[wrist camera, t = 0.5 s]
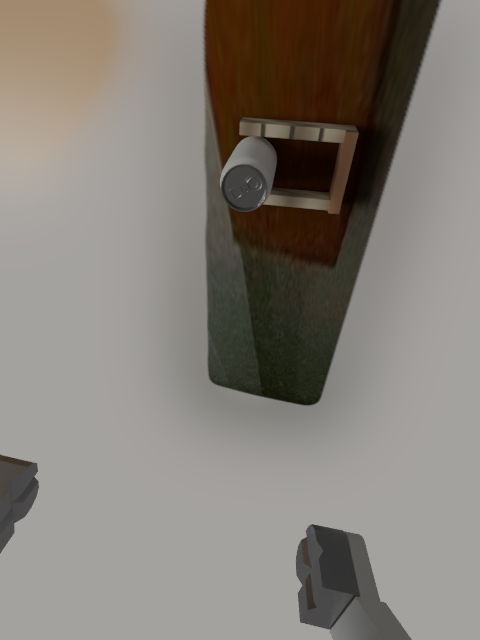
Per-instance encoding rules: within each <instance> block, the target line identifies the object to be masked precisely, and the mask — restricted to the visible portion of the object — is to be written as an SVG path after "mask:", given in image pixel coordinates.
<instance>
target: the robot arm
mask: <svg viewBox="0 0 480 640" xmlns="http://www.w3.org/2000/svg"><path fill="white" fill-rule="evenodd" d="M37 472H38V469H37V463H32V462H28V461H24V460H19V459H15V458H11V457H7V456H2V455H0V553H1V551H2V550H3V548H4V547H5V545H6V544H7V542H8V541H9V540H10V538H11V537H12V535H13V533H14V523H15V522H17V521H19V520H20V519H22V518H23V517H25V516H26V514H27V513H28V511H29V510H30V508H31V507H32V505H33V503H34V500H35V498H36V496H37V492H38V488H39V485H38V481H37V479H36V478H35V477H34V476H35V474H36V473H37ZM306 533H307V537H306V538H304V539H302V540H301V542H300V544H299V546H298V550H297V556H296V572H297V577H298V578H299V580H300V582H301V583H302V585H303V586H302V587H301V589H300V591H299V593H298V599H299V612H300V622H301V623H305V624H310V625H314V626H318V627H322V628H326V629H330V633H331V635H332V638H333V640H411V638H410V637H409V635H408V634H407V633H406V631H405V630H404V628H403V627H402V626H401V624H400V623H399V621H398V620H397V618H396V617H395V616H394V614H393V613H392V611H391V610H390V609H389V607H388V606H387V604H386V603H384V602H380V599H379V595H378V591H377V588H376V583H375V580H374V576H373V572H372V568H371V564H370V561H369V557H368V553H367V549H366V545H365V542H364V539H363V537H362V536H360V535H359V534H354V533H349V532H344V531H342V530H337V529H332V528H328V527H323V526H318V525H313V524H312V525H310V526H309V527H308V528H307V530H306Z"/></svg>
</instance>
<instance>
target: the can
mask: <svg viewBox="0 0 480 640" xmlns="http://www.w3.org/2000/svg"><path fill="white" fill-rule="evenodd" d="M276 165H277V155H276V151H275V149H274V147H273V146H272V145H271V143H270V142H269V141H268V140H266V139H265V138H263V137H259V136H250V137H247V138H245V139H243V140H242V141H241V142H240V143H239V144H238V145H237V146H236V148H235V150H234V151H233V153H232V155H231V156H230V158H229V160H228V162H227V163H226V165H225V167H224V169H223V171H222V174H221V178H220V187H221V192H222V196H223V198H224V200H225V201H226V203H227V204H228V205H229V206H230V207H232V208H233V209H235V210H237V211H241V212H249V211H253V210H255V209H257V208H258V207H260V206H261V205H262V204H263V203H264V202H265V201H266V200H267V198H268V197H269V195H270V192H271V189H272V184H273V180H274V175H275V170H276Z"/></svg>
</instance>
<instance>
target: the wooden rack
mask: <svg viewBox="0 0 480 640" xmlns="http://www.w3.org/2000/svg"><path fill="white" fill-rule="evenodd" d="M358 134H359V132H358V130H357V128H356V126H353V125H340V124H326V123H313V122H299V121H286V120H273V119H259V118H246V117H243V118H242V120H241V121H240V135H247V136H260V137H273V138H285V139H298V140H311V141H318V142H321V141H323V142H336V143H340V144H339V149H338V154H337V158H336V163H335V168H334V172H333V177H332V182H331V186H330V191H329V193H328V192H317V191H306V190H295V189H284V188H274V187H272V189H271V192H270V195H269V197H268V198H267V200H266V201H265V202H264V203H263V204H267V205H278V206H288V207H298V208H309V209H319V210H328V213H332V214H339V212H340V208H341V203H342V199H343V195H344V191H345V187H346V183H347V179H348V175H349V171H350V167H351V163H352V158H353V154H354V150H355V146H356V142H357V138H358Z"/></svg>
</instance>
